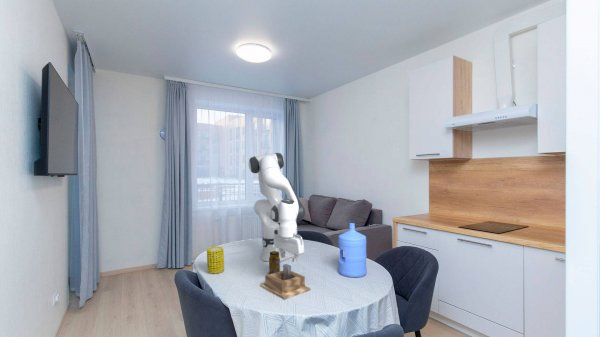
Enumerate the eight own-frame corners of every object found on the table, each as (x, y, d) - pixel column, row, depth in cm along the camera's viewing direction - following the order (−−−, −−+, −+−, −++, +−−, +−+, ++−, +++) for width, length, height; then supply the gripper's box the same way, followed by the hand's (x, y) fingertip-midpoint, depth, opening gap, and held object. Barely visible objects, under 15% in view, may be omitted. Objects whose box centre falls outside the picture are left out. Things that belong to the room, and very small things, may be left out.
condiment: (278, 270, 169) (277, 250, 170) (283, 275, 162) (283, 253, 162) (266, 272, 166) (266, 251, 166) (271, 277, 159) (271, 255, 159)
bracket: (286, 283, 147) (286, 263, 147) (291, 286, 144) (291, 265, 144) (278, 286, 144) (278, 266, 144) (283, 288, 141) (283, 268, 141)
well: (285, 278, 156) (285, 267, 156) (310, 290, 141) (310, 277, 141) (260, 286, 146) (260, 274, 146) (284, 299, 131) (284, 286, 131)
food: (226, 271, 172) (218, 278, 162) (208, 266, 174) (199, 272, 165) (231, 247, 171) (223, 252, 161) (213, 242, 173) (204, 247, 163)
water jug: (369, 270, 168) (368, 222, 169) (363, 279, 154) (362, 227, 155) (343, 267, 175) (342, 220, 175) (335, 275, 161) (334, 225, 161)
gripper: (306, 234, 139) (307, 263, 140) (281, 228, 155) (281, 253, 155) (297, 236, 135) (297, 266, 135) (271, 229, 151) (271, 256, 151)
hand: (288, 259), depth 145 cm, fingers open, 8 cm apart
